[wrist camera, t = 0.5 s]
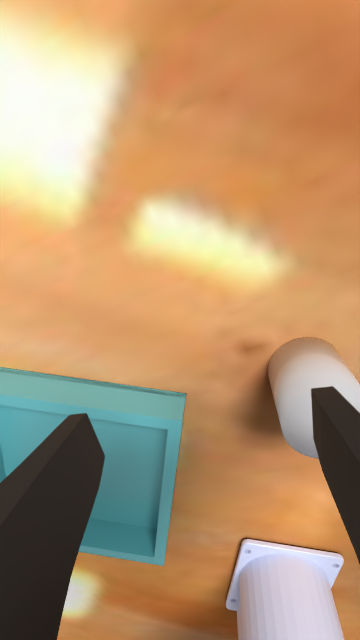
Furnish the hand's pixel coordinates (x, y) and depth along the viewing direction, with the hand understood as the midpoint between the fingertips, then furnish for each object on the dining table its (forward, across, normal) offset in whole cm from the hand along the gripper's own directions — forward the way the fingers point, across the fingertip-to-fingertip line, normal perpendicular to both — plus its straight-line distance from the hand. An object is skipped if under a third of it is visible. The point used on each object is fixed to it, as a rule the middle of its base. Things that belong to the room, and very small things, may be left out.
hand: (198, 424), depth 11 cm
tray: (+9, +11, +11) cm, 18 cm away
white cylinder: (+10, -5, +6) cm, 12 cm away
